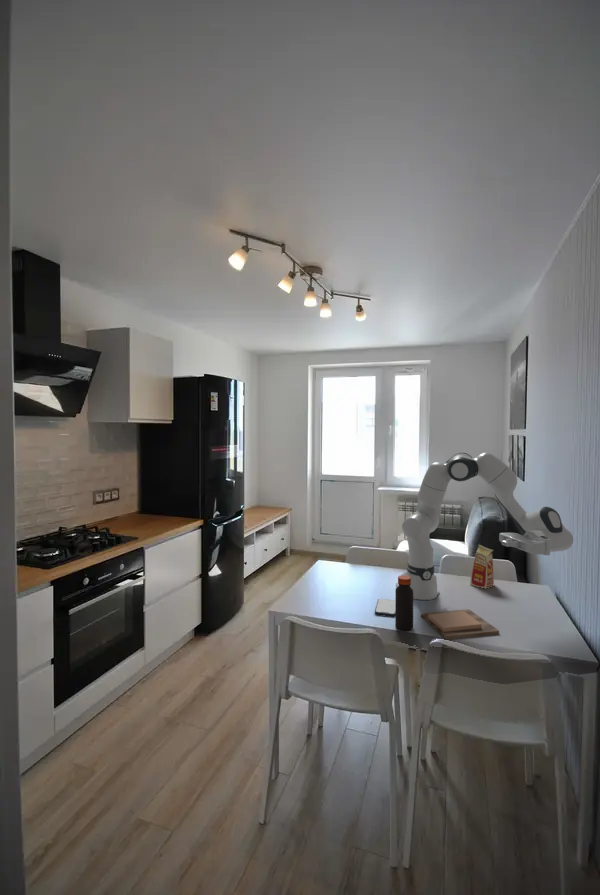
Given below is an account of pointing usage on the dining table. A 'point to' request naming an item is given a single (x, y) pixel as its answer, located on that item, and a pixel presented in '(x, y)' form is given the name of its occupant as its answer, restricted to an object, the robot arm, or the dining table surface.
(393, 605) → the phone case
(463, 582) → the dining table surface
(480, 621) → the walnut board
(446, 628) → the tile
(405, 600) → the bottle
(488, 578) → the milk carton
